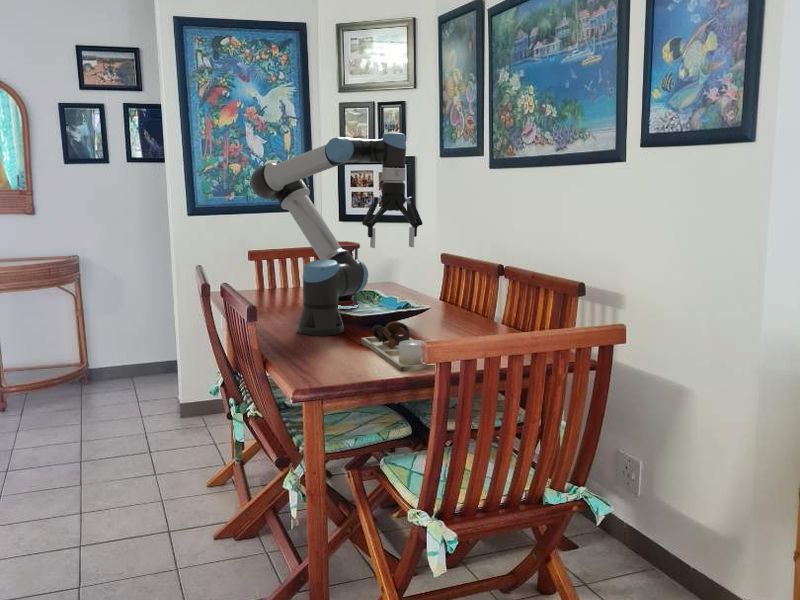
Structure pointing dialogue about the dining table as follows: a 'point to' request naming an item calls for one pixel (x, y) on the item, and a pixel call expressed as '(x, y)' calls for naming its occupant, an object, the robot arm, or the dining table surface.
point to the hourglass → (350, 247)
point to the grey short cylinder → (410, 352)
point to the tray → (391, 354)
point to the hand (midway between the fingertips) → (392, 247)
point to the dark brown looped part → (390, 333)
